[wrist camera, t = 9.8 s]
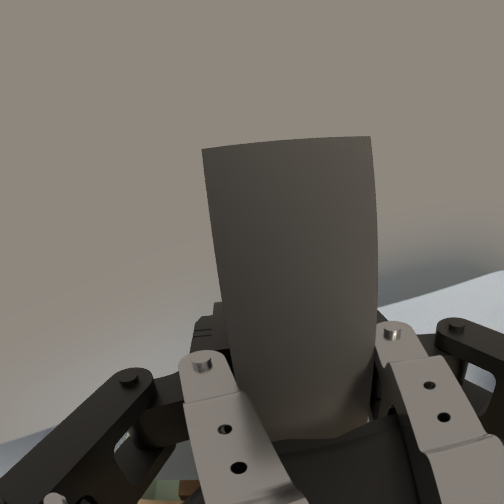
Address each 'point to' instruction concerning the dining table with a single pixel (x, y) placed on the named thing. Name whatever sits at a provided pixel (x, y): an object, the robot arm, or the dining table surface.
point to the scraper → (295, 282)
